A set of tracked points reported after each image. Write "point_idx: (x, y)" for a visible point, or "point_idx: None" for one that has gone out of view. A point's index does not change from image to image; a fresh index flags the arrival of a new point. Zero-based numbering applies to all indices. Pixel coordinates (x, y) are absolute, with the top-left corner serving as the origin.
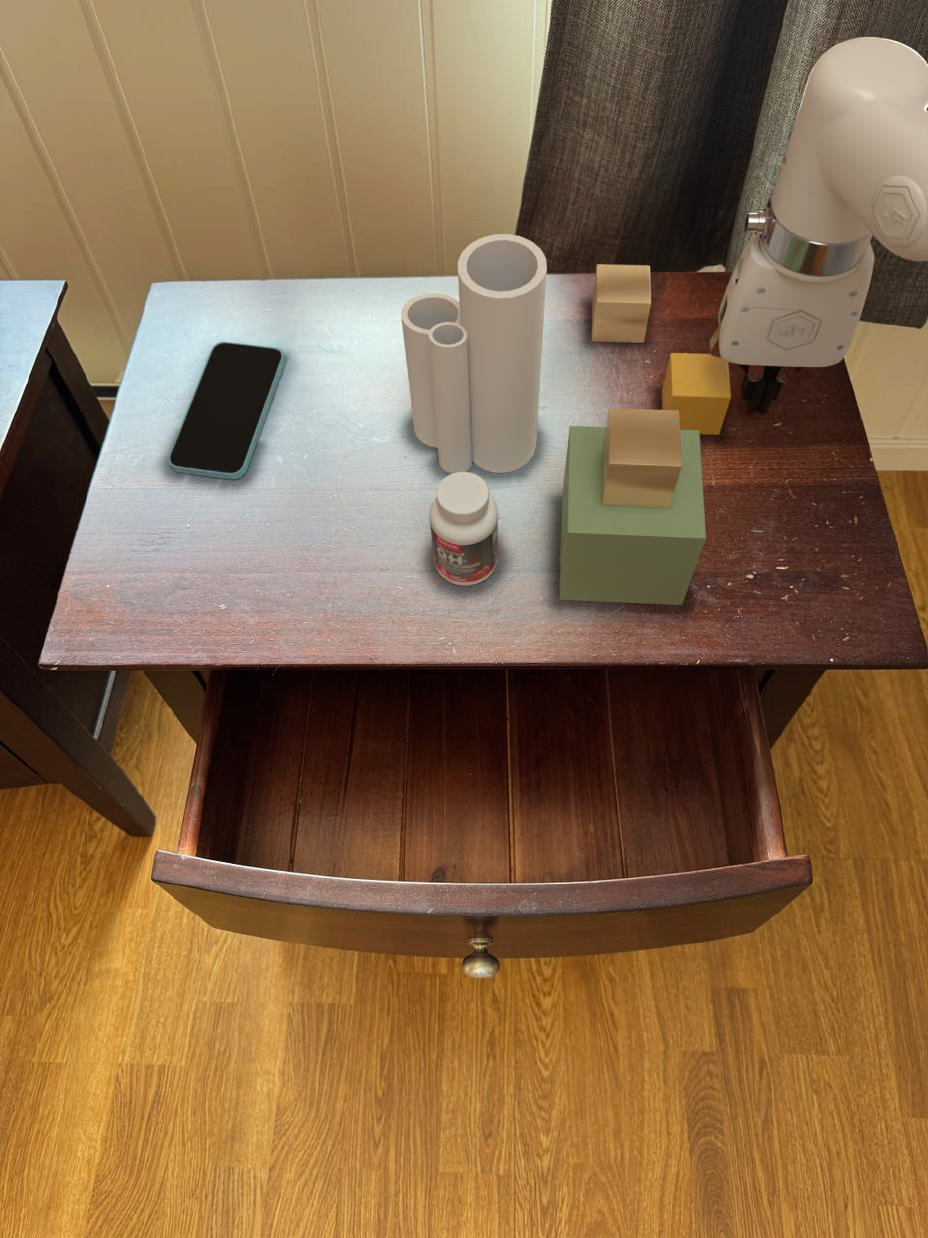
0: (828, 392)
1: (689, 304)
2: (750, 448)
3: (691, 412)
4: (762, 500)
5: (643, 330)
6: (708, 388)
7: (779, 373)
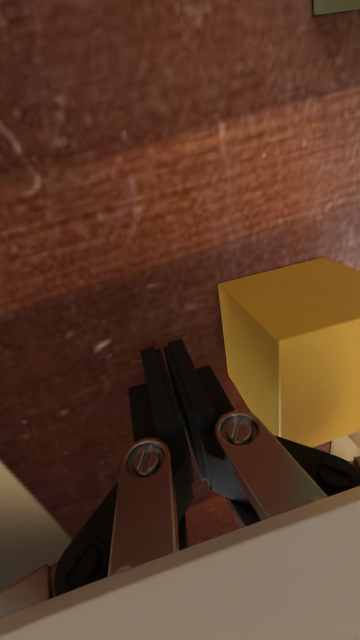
0: (21, 444)
1: None
2: (147, 267)
3: (326, 289)
4: (85, 89)
5: (356, 439)
6: (338, 351)
7: (168, 470)
